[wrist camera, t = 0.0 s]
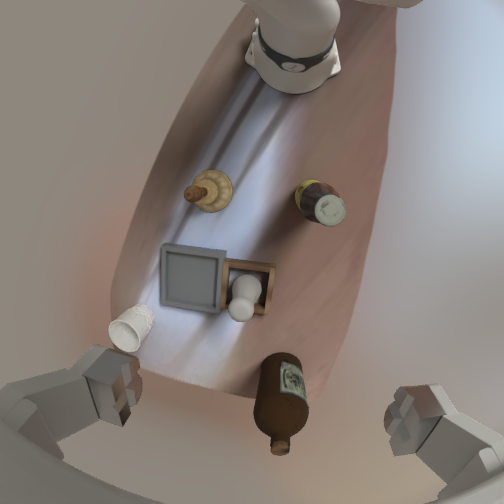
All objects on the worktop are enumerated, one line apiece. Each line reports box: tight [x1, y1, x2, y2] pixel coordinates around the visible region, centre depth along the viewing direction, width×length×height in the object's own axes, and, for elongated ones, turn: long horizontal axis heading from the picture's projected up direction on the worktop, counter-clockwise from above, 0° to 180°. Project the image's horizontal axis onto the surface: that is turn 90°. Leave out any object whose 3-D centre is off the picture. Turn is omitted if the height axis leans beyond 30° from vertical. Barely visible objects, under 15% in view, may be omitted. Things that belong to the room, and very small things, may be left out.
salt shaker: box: [228, 274, 262, 322], centre depth 52 cm, size 6×6×13 cm
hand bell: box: [184, 170, 233, 212], centre depth 46 cm, size 8×8×16 cm
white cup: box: [108, 304, 155, 352], centre depth 58 cm, size 8×8×10 cm
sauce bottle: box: [295, 180, 346, 226], centre depth 43 cm, size 6×6×20 cm
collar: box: [220, 258, 276, 315], centre depth 57 cm, size 10×10×2 cm
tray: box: [161, 243, 227, 314], centre depth 58 cm, size 13×13×2 cm
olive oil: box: [253, 352, 309, 456], centre depth 51 cm, size 11×11×25 cm
